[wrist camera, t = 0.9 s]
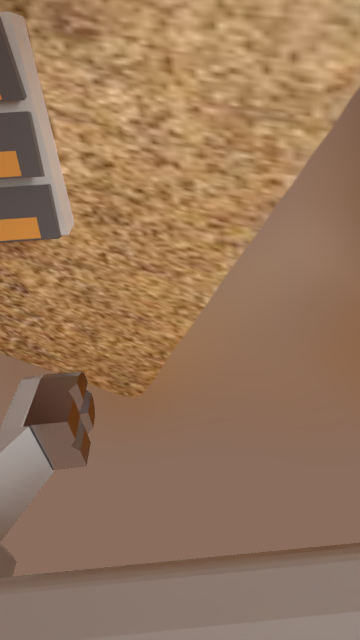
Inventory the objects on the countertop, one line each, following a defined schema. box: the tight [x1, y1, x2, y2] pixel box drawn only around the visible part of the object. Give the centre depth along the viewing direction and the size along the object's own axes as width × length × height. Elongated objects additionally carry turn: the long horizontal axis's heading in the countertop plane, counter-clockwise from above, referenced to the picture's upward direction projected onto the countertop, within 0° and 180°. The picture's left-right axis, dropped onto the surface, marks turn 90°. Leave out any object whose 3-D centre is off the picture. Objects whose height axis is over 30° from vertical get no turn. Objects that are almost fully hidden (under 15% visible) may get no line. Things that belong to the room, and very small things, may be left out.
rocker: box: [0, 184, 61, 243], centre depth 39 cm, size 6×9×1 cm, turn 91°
